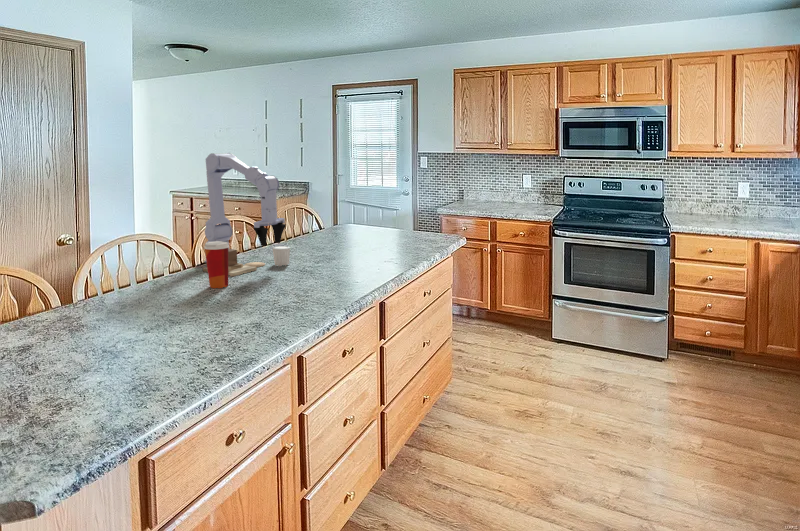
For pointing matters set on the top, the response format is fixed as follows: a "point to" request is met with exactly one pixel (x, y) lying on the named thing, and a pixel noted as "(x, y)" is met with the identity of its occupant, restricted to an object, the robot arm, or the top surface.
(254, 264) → the cork pad
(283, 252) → the white tapered cup
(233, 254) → the walnut post
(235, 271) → the pocket board
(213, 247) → the coffee cup
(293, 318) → the top surface
